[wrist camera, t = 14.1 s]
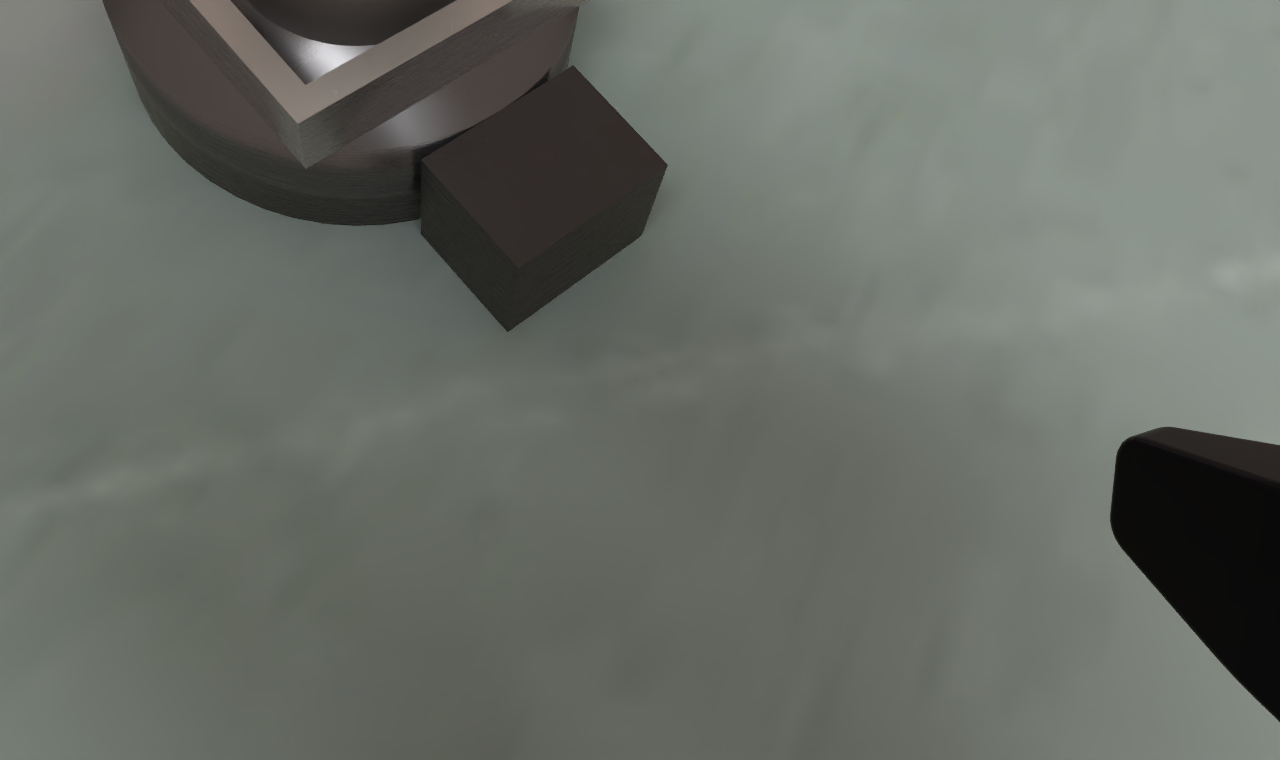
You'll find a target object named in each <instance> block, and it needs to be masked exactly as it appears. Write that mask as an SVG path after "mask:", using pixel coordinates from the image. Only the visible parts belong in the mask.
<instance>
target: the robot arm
mask: <svg viewBox="0 0 1280 760" xmlns="http://www.w3.org/2000/svg"><path fill="white" fill-rule="evenodd" d="M1110 522H1111V528H1112V531H1113V534H1114V537H1115V539H1116V540H1117V542H1118V544H1119V545H1120V547H1121V548H1122V549H1123V551H1124V552H1125V553H1126V554H1127V555H1128V556H1129V557H1130V559H1131V560H1132V561H1133V562H1134V563H1135V564H1136V566H1137V567H1138V568H1139V569H1140V570H1141V571H1142V572H1143V574H1144V575H1145V576H1146V577H1147V578H1148V579H1149V581H1150V582H1151V583H1152V584H1153V585H1154V586H1155V587H1156V589H1157V590H1158V591H1159V592H1160V593H1161V594H1162V595H1163V597H1164V598H1165V599H1166V600H1167V601H1168V602H1169V604H1170V605H1171V606H1172V607H1173V608H1174V609H1175V610H1176V612H1177V613H1178V614H1179V615H1180V616H1181V617H1182V619H1183V620H1184V621H1185V622H1186V623H1187V624H1188V625H1189V627H1190V628H1191V629H1192V630H1193V631H1194V632H1195V634H1196V635H1197V636H1198V637H1199V638H1200V639H1201V640H1202V642H1203V643H1204V644H1205V645H1206V646H1207V647H1208V648H1209V650H1210V651H1211V652H1212V653H1213V654H1214V655H1215V657H1216V658H1217V659H1218V660H1219V661H1220V662H1221V663H1222V664H1223V665H1224V666H1225V668H1226V669H1227V670H1228V671H1229V672H1230V673H1231V674H1232V675H1233V676H1234V677H1235V678H1236V679H1237V680H1238V682H1239V683H1240V684H1241V685H1242V686H1243V687H1244V688H1245V689H1246V690H1247V691H1248V692H1249V693H1250V694H1251V695H1252V696H1253V697H1254V698H1255V699H1256V700H1257V701H1258V702H1259V703H1261V704H1262V705H1263V706H1264V707H1265V708H1266V709H1267V710H1268V711H1269V712H1270V713H1271V714H1272V715H1273V716H1274V717H1275V718H1276V719H1277V720H1278V721H1279V722H1280V445H1275V444H1269V443H1263V442H1257V441H1251V440H1246V439H1240V438H1234V437H1228V436H1222V435H1216V434H1210V433H1204V432H1199V431H1193V430H1187V429H1181V428H1175V427H1160V428H1157V429H1153V430H1150V431H1147V432H1144V433H1141V434H1138V435H1135V436H1132V437H1129V438H1128V439H1126V440H1125V441H1124V442H1122V444H1121V446H1120V448H1119V449H1118V451H1117V456H1116V464H1115V474H1114V483H1113V493H1112V503H1111V513H1110Z"/></svg>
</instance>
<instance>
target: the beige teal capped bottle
mask: <svg viewBox="0 0 1280 760" xmlns="http://www.w3.org/2000/svg"><path fill="white" fill-rule="evenodd" d="M247 1H248V2H249V3H250V4H251V5H252V7H253V8H255V9H256V10H257V11H258V12H259V13H260V14H262V15H263V16H264V17H265V18H267V19H268V20H270V21H271V22H273V23H274V24H276V25H277V26H279V27H281V28H283V29H285V30H287V31H289V32H291V33H293V34H296V35H299V36H301V37H304V38H307V39H310V40H314V41H318V42H322V43H327V44H334V45H341V46H368V45H377V44H380V43H381V42H383V41H385V40H387V39H388V38H390V37H392V36H394V35H396V34H397V33H399V32H401V31H403V30H405V29H406V28H408V27H410V26H412V25H413V24H415V23H417V22H419V21H421V20H422V19H424V18H426V17H428V16H430V15H431V14H433V13H435V12H437V11H438V10H440V9H442V8H444V7H446V6H447V5H449V4H451V3H453V2H455V1H456V0H247Z"/></svg>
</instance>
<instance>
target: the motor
mask: <svg viewBox="0 0 1280 760" xmlns="http://www.w3.org/2000/svg"><path fill="white" fill-rule="evenodd" d="M587 1H589V0H456V1H455V2H453V3H451V4H449V5H447V6H446V7H444V8H442V9H440V10H438V11H437V12H435V13H433V14H431V15H430V16H428V17H426V18H424V19H422V20H421V21H419V22H417V23H415V24H413V25H412V26H410V27H408V28H406V29H405V30H403V31H401V32H399V33H397V34H396V35H394V36H392V37H390V38H388V39H387V40H385V41H383V42H381V43H380V44H377V45H368V46H341V45H334V44H327V43H322V42H318V41H314V40H310V39H307V38H304V37H301V36H299V35H296V34H293V33H291V32H289V31H287V30H285V29H283V28H281V27H279V26H277V25H276V24H274V23H273V22H271V21H270V20H268V19H267V18H265V17H264V16H263V15H262V14H260V13H259V12H258V11H257V10H256V9H255V8H253V7H252V5H251V4H250V3H249V2H248V1H247V0H103V3H104V6H105V9H106V12H107V14H108V17H109V19H110V22H111V24H112V27H113V29H114V32H115V35H116V37H117V40H118V42H119V45H120V47H121V50H122V52H123V55H124V58H125V60H126V63H127V65H128V68H129V70H130V73H131V75H132V78H133V81H134V83H135V86H136V88H137V91H138V93H139V96H140V98H141V101H142V103H143V104H144V106H145V108H146V110H147V112H148V114H149V116H150V118H151V120H152V122H153V123H154V125H155V126H156V127H157V129H158V130H159V131H160V133H161V134H162V136H163V137H164V138H165V140H166V141H167V142H168V144H169V145H170V146H171V147H172V148H173V149H174V150H175V151H176V152H177V153H178V154H179V155H180V156H181V157H182V158H183V159H184V160H185V161H186V162H187V163H188V164H189V165H190V166H192V167H193V168H194V169H195V170H197V171H198V172H199V173H201V174H202V175H203V176H204V177H206V178H207V179H208V180H209V181H211V182H213V183H214V184H216V185H218V186H219V187H221V188H223V189H224V190H226V191H228V192H229V193H231V194H233V195H234V196H236V197H239V198H241V199H243V200H245V201H248V202H250V203H252V204H254V205H257V206H259V207H261V208H264V209H267V210H270V211H273V212H277V213H280V214H283V215H286V216H289V217H293V218H298V219H303V220H309V221H314V222H319V223H327V224H341V225H379V224H389V223H396V222H403V221H409V220H415V219H419V218H421V234H422V235H423V237H424V238H425V239H426V240H427V241H428V242H429V243H430V245H431V246H432V247H433V248H434V249H435V250H436V251H437V252H438V254H439V255H440V256H441V257H442V258H443V259H444V260H445V261H446V263H447V264H448V265H449V266H450V267H451V268H452V269H453V271H454V272H455V273H456V274H457V275H458V276H459V277H460V278H461V280H462V281H463V282H464V283H465V284H466V285H467V286H468V288H469V289H470V290H471V291H472V292H473V293H474V294H475V295H476V297H477V298H478V299H479V300H480V301H481V302H482V303H483V304H484V306H485V307H486V308H487V309H488V310H489V311H490V312H491V314H492V315H493V316H494V317H495V318H496V319H497V320H498V321H499V323H500V324H501V325H502V326H503V327H504V328H505V329H506V330H507V332H508V331H510V330H511V329H512V328H514V327H515V326H516V325H518V324H519V323H521V322H522V321H523V320H525V319H526V318H528V317H529V316H530V315H532V314H533V313H535V312H536V311H537V310H539V309H540V308H541V307H543V306H544V305H546V304H547V303H548V302H550V301H551V300H553V299H554V298H555V297H557V296H558V295H560V294H561V293H562V292H564V291H565V290H566V289H568V288H569V287H571V286H572V285H573V284H575V283H576V282H578V281H579V280H580V279H582V278H583V277H585V276H586V275H587V274H589V273H590V272H591V271H593V270H594V269H596V268H597V267H598V266H600V265H601V264H603V263H604V262H605V261H607V260H608V259H610V258H611V257H612V256H614V255H615V254H616V253H618V252H619V251H621V250H622V249H623V248H625V247H626V246H628V245H629V244H630V243H632V242H633V241H635V240H636V239H637V238H639V237H640V236H641V235H642V232H643V230H644V227H645V224H646V222H647V219H648V216H649V214H650V211H651V208H652V206H653V203H654V200H655V198H656V195H657V192H658V190H659V187H660V184H661V182H662V179H663V176H664V174H665V171H666V168H667V166H668V165H667V164H666V163H665V162H664V160H663V159H662V158H661V157H660V156H659V155H658V154H657V153H656V152H655V151H654V150H653V149H652V148H651V147H650V146H649V145H648V144H647V143H646V142H645V140H644V139H643V138H642V137H641V136H640V135H639V134H638V133H637V132H636V131H635V130H634V129H633V128H632V127H631V126H630V125H629V124H628V123H627V121H626V120H625V119H624V118H623V117H622V116H621V115H620V114H619V113H618V112H617V111H616V110H615V109H614V108H613V107H612V106H611V105H610V104H609V103H608V101H607V100H606V99H605V98H604V97H603V96H602V95H601V94H600V93H599V92H598V91H597V90H596V89H595V88H594V87H593V86H592V85H591V84H590V83H589V81H588V80H587V79H586V78H585V77H584V76H583V75H582V74H581V73H580V72H579V71H578V70H577V69H576V68H575V67H574V66H571V67H570V68H568V69H567V67H568V62H569V56H570V51H571V46H572V41H573V36H574V30H575V25H576V20H577V15H578V9H579V6H581V5H582V4H584V3H586V2H587Z"/></svg>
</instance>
